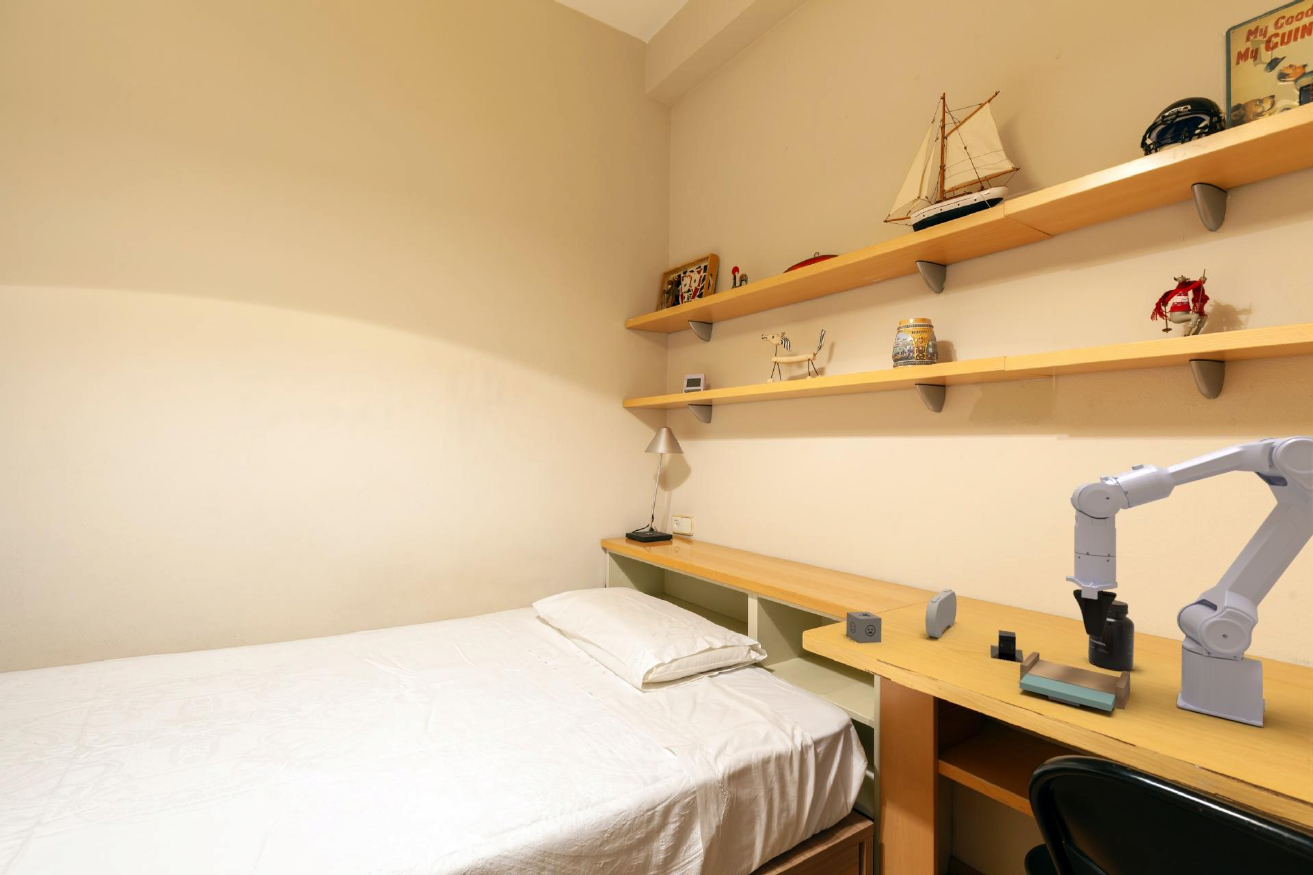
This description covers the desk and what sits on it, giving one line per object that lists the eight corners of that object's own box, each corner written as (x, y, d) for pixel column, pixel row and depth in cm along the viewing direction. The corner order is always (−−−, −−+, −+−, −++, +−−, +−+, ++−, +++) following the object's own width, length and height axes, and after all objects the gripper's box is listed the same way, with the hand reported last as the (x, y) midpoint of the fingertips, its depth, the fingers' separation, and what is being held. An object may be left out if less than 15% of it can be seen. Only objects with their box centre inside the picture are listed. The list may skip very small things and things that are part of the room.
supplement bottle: (1085, 664, 113) (1086, 600, 113) (1090, 656, 118) (1091, 595, 118) (1132, 674, 108) (1132, 608, 108) (1135, 665, 113) (1136, 601, 113)
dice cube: (881, 642, 123) (881, 618, 123) (859, 643, 122) (859, 618, 122) (867, 635, 128) (867, 611, 128) (846, 635, 127) (846, 612, 127)
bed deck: (1130, 691, 100) (1130, 672, 100) (1123, 709, 93) (1123, 688, 93) (1032, 668, 109) (1033, 651, 109) (1019, 683, 102) (1020, 664, 102)
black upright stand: (1029, 669, 111) (1029, 644, 111) (984, 661, 114) (985, 637, 114) (1026, 651, 121) (1026, 628, 122) (985, 644, 125) (985, 622, 125)
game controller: (946, 621, 141) (946, 585, 141) (956, 622, 140) (957, 587, 140) (923, 639, 126) (924, 600, 126) (935, 642, 124) (935, 602, 124)
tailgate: (1115, 694, 93) (1111, 704, 89) (1115, 704, 93) (1111, 715, 89) (1026, 673, 101) (1019, 681, 98) (1026, 683, 101) (1019, 691, 98)
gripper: (1072, 546, 109) (1072, 621, 109) (1059, 555, 98) (1059, 638, 98) (1121, 551, 104) (1121, 629, 104) (1113, 561, 93) (1113, 648, 93)
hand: (1094, 634), depth 100 cm, fingers closed
